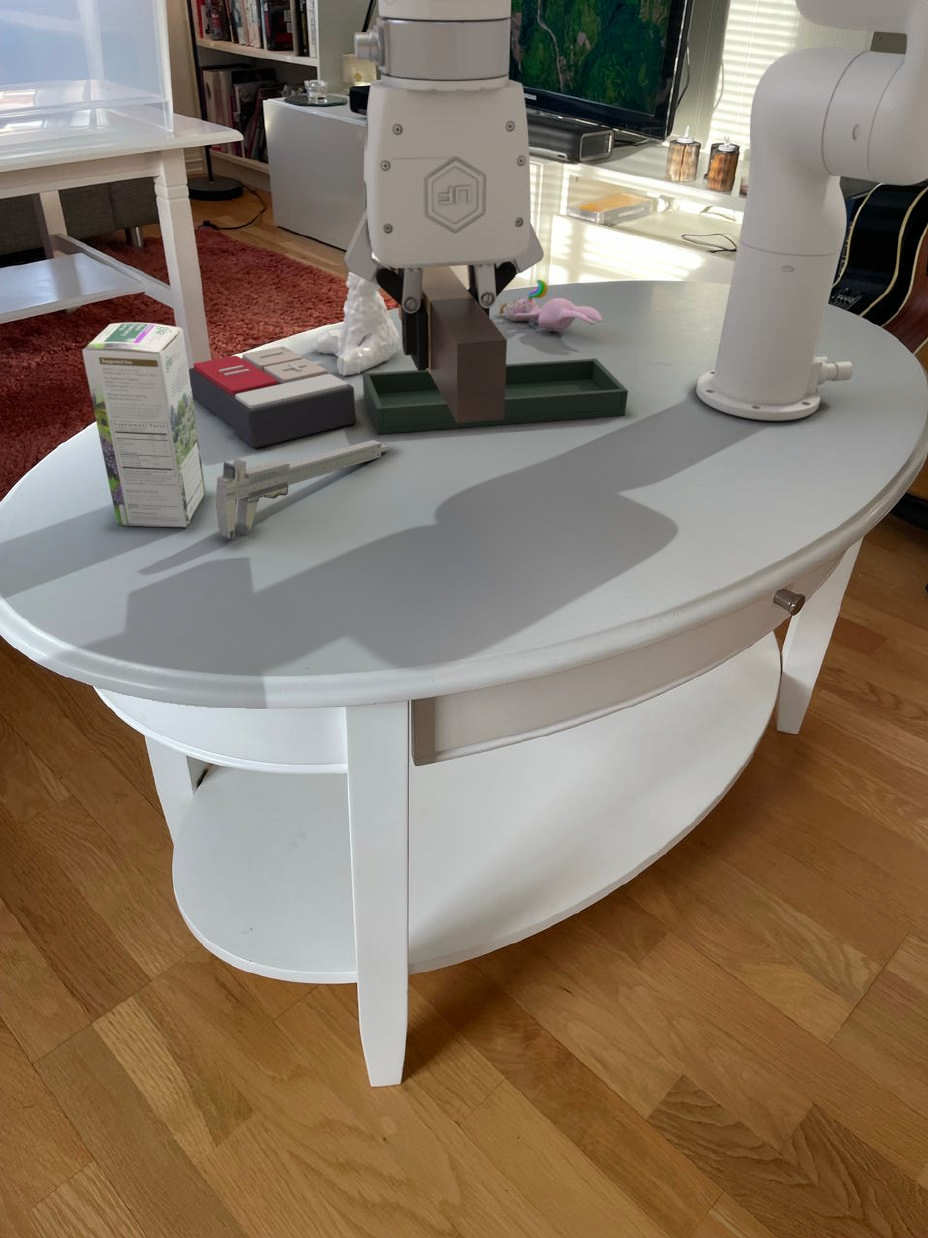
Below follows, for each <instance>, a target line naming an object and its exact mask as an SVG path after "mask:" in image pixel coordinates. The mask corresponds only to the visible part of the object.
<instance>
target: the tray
mask: <svg viewBox="0 0 928 1238" xmlns="http://www.w3.org/2000/svg"><path fill="white" fill-rule="evenodd" d="M362 390H363V399H364V402H365V404H366V407H367V410H368V412H369V415H370V417H371V420H372V422H373V425H374V428H375V431H376V433H377V435H385V434H398V433H412V432H425V431H426V432H427V431H437V430H448V429H449V430H451V429H462V428H477V427H488V426H490V427H491V426H501V425H502V426H503V425H513V424H514V425H515V424H526V423H527V424H528V423H539V422H551V421H552V422H553V421H564V420H565V421H566V420H567V421H568V420H578V419H593V418H604V417H605V418H606V417H618V416H625V414H626V409H627V402H628V394H629V390H628V389H627V388H626V387H625V386H624V385H623V384H622V383H621V382H620V381H619V379H617V378H616V377H615V376H614V374H612V373H611V372H610V370H608V369H607V368H606V367H605V366H604V365H603V363H602V362H600V360H598V359H597V358H585V359H584V358H583V359H581V358H580V359H568V360H553V361H552V360H551V361H539V362H538V361H535V362H522V363H521V362H519V363H506V380H505V406H504V419H498V420H487V421H476V422H465V423H457V422H456V420H455V418H454V416H453V415H452V413H451V411H450V409H449V407H448V405H447V404H446V402H445V400H444V398H443V396H442V395H441V393H440V391H439V389H438V387H437V385H436V384H435V382H434V380H433V378H432V376H431V374H430V373H429V371H428V369H426V371H418V369H412V370H411V369H410V370H395V371H381V372H369V373H367V372H366V373H362Z"/></svg>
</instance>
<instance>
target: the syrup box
mask: <svg viewBox="0 0 928 1238" xmlns="http://www.w3.org/2000/svg"><path fill="white" fill-rule="evenodd" d="M186 349H187V348H186V342H185V334H184V329H183V328H181V327H179V326H173V325H168V324H167V325H166V324H160V323H152V322H115V323H110V324H108V325H107V326H106V327H105V328H103V330H102V331H101V332H100V333H99V334H97V336H95V338H94V339H92V341H91V342H89V343H88V344H87V345H86V346H85V347H84V348H83V349H82V351H81V352H82V357H83V362H84V367H85V373H86V377H87V382H88V387H89V392H90V397H91V402H92V407H93V411H94V417H95V422H96V427H97V431H98V437H99V441H100V446H101V451H102V456H103V459H104V460H103V461H104V465H105V471H106V475H107V481H108V486H109V491H110V495H111V502H112V505H113V510H114V515H115V521H116V523H117V524H118V525H119V526H127V527H128V526H131V527H135V526H136V527H163V528H165V527H166V528H167V527H168V528H187V527H189V526H190V523H191V522H192V519H193V518H194V516H195V514H196V512H197V510H198V509H199V506H200V504H201V503H202V502H203V500H204V497H205V496H206V485H205V479H204V472H203V465H202V463H203V462H202V458H201V450H200V443H199V435H198V429H197V420H196V414H195V413H196V412H195V406H194V400H193V399H194V398H193V395H192V390H191V384H190V377H189V363H188V356H187V350H186Z"/></svg>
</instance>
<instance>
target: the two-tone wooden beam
mask: <svg viewBox="0 0 928 1238" xmlns="http://www.w3.org/2000/svg"><path fill="white" fill-rule="evenodd" d="M421 299H422V300H423V308H424V309H425V311H426V313H427V315H428V358H429V367H428V371H429V373H430V374H431V376H432V378H433V380H434V382H435V384H436V385H437V387H438V389H439V391H440V393H441V395H442V396H443V398H444V400H445V402H446V404H447V405H448V407H449V409H450V411H451V413H452V415H453V416H454V418H455V420H456V422H457V423H465V422H476V421H487V420H498V419H504V406H505V380H506V364H507V354H508V353H507V352H508V351H507V348H508V339H507V338H506V337H505V336H504V334H503V333H502V331H500V329H499V328H498V327H497V326H496V324H495V322H493V319H491V318H490V316H489V317H488V315H487V314H486V313H485V311H484V310H483V309H482V308H481V306H480V305H479V304H478V303H477V301H476V300H475V299H474V298H473V296H472V295H471V294H470V293H469V291H468V288H467V287H466V286H465V285H464V283H463V282H462V281H461V280H460V279H459V277H458V276H457V274H456V273H455V272H454V271H453V270H452V268H451V266H443V267H425V268H423V279H422V291H421ZM398 318H399V321H400V322H401V323H402V315H401V306H400V305H399V304H398Z"/></svg>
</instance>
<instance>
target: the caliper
mask: <svg viewBox="0 0 928 1238" xmlns="http://www.w3.org/2000/svg"><path fill="white" fill-rule="evenodd" d="M390 450H391V448H390V446H388V445H386V444H383V443H382V442H380V441H377V440H374V439H372V440H368V441H364V442H360V443H356V444H353V445H350V446H349V445H348V446H346V447H341V448H338V449H335V450H330V451H327V452H323V453H320V454H316V455H312V456H309V457H304V458H302V459H298V460H295V461H291V462H286V461H283V460H280V459H279V460H276V461H272V462H267V463H264V464H260V465H259V464H258V465H256V466H251V467H247V466H246V465H247V462H246V461H244V460H242V459H239V458H234V461H233V463H230V462H227V461H223V467H222V468H223V470H222V475H221V476H218V477H217V478H216V488H215V489H216V490H215V502H214V503H215V511H216V515H217V524H218V525H217V526H218V530H219V534H220V535H221V536H222V537H225V538H227V539H229V540H235V531H237V533H239V534H242V535H245V536H247V535H249V533H250V531H251V530H252V527H253V523H254V519H255V516H256V512H257V508H258V504H259V501H260V498H266V499H277V498H278V497H280V496H287V495H288V493H289V486H290V485H293V484H297V483H300V482H303V481H306V480H311V479H313V478H316V477H320V476H325V475H327V474H330V473H333V472H336V471H340V470H343V469H347V468H351V467H354V466H358V465H361V464H364V463H368V462H371V461H374V460H378V459H380V458H381V455H382V453H385V452H388V451H390ZM236 522H237V523H236Z"/></svg>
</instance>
